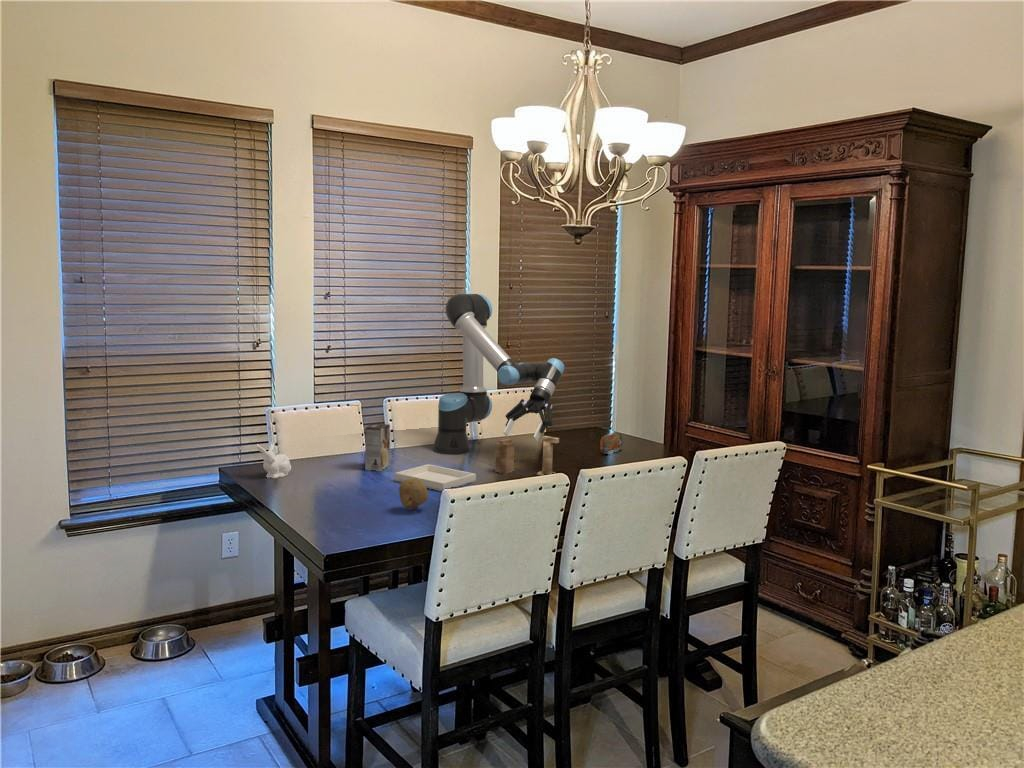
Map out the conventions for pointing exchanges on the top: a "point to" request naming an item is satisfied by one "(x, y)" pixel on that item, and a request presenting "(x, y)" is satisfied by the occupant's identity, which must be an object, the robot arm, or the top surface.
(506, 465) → the brown upright block
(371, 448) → the coffee box
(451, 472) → the tray
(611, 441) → the tin
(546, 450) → the oak post
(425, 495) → the natural sponge
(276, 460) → the rabbit
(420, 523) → the top surface
